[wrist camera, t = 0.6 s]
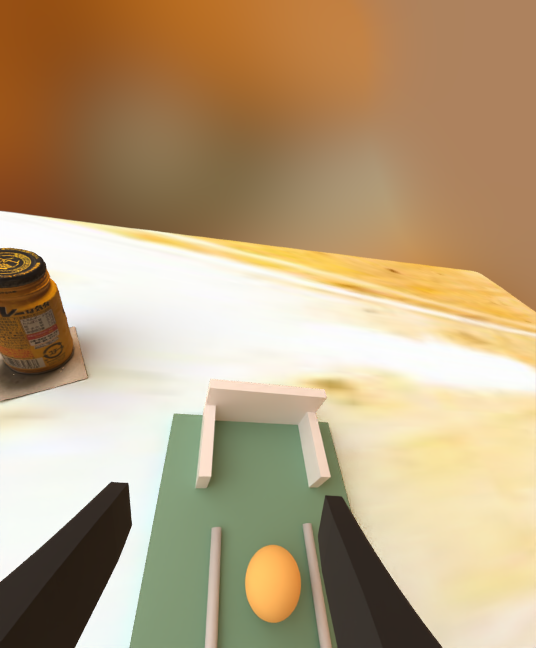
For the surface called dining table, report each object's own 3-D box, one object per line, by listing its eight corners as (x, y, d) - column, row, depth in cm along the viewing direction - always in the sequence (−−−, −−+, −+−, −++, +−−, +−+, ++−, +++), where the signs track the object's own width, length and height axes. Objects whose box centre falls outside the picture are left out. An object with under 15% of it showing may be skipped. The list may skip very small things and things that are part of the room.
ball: (293, 619, 19) (315, 618, 17) (240, 626, 18) (253, 627, 16) (286, 548, 22) (303, 538, 20) (239, 551, 21) (251, 541, 19)
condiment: (75, 327, 34) (51, 240, 26) (87, 378, 29) (63, 292, 22) (-5, 341, 29) (-61, 243, 22) (-4, 403, 25) (-74, 307, 17)
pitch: (442, 898, 14) (467, 922, 13) (46, 1089, 10) (32, 1151, 8) (324, 426, 33) (330, 419, 32) (173, 418, 29) (174, 409, 27)
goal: (318, 487, 27) (345, 464, 23) (195, 488, 24) (202, 462, 20) (304, 417, 32) (324, 389, 28) (203, 411, 29) (210, 378, 25)
